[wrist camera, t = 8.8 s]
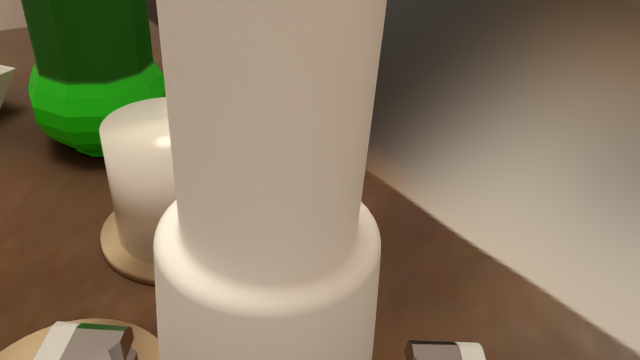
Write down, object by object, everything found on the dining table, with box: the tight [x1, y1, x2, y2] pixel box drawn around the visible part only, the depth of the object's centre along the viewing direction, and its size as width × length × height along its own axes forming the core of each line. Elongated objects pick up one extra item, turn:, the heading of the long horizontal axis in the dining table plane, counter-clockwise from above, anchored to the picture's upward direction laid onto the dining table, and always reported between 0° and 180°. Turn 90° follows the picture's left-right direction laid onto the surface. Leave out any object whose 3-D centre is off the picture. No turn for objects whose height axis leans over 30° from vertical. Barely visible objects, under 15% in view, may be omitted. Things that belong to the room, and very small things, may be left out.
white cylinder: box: [99, 97, 176, 264], centre depth 31 cm, size 7×7×7 cm
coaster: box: [101, 211, 155, 285], centre depth 33 cm, size 9×9×1 cm
